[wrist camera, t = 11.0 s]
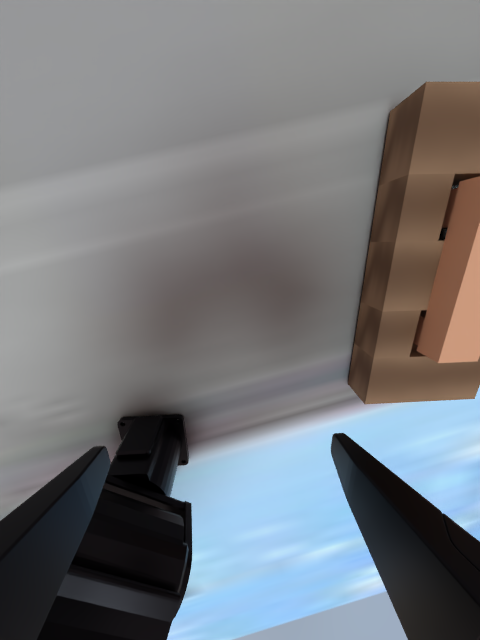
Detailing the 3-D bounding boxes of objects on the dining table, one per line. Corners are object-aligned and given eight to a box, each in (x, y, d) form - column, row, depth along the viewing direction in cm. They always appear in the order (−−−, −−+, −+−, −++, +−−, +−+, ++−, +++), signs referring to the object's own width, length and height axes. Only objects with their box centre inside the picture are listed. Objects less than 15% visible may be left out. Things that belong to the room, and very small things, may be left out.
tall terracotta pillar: (422, 334, 21) (477, 361, 16) (391, 336, 21) (438, 363, 16) (459, 191, 17) (546, 171, 13) (421, 191, 17) (494, 172, 12)
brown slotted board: (444, 379, 23) (474, 398, 20) (348, 383, 23) (364, 404, 20) (529, 110, 16) (594, 81, 13) (390, 111, 15) (426, 81, 13)
